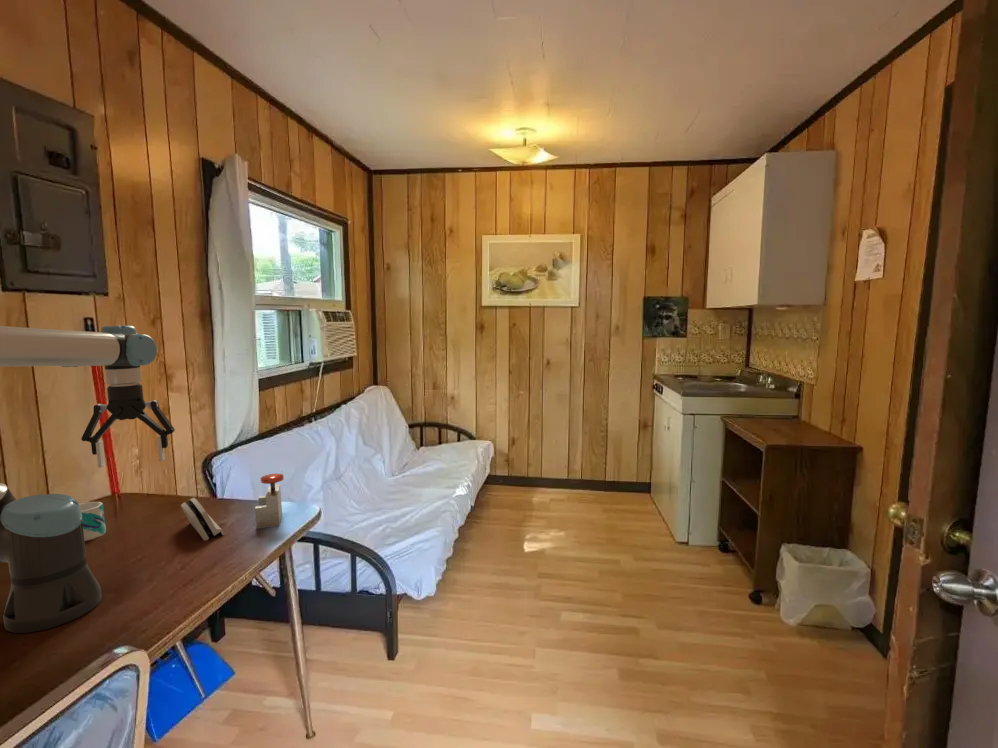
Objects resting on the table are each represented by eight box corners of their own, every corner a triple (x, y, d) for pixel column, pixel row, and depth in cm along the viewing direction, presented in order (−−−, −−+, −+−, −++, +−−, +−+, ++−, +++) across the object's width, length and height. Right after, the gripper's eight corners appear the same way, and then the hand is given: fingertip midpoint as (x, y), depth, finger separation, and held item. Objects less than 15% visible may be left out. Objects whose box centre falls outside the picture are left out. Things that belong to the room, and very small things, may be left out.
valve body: (285, 524, 146) (282, 480, 144) (256, 529, 143) (252, 484, 142) (287, 512, 155) (284, 470, 154) (260, 515, 153) (257, 473, 151)
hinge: (225, 535, 140) (208, 505, 136) (207, 546, 137) (189, 515, 134) (209, 517, 152) (193, 490, 149) (193, 527, 149) (176, 499, 146)
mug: (66, 544, 136) (63, 514, 135) (70, 529, 145) (66, 501, 144) (105, 536, 141) (102, 507, 140) (106, 522, 150) (103, 495, 149)
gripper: (182, 379, 142) (188, 454, 145) (72, 385, 134) (81, 464, 136) (176, 382, 136) (183, 461, 138) (59, 389, 127) (69, 472, 129)
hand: (132, 463), depth 137 cm, fingers open, 13 cm apart
